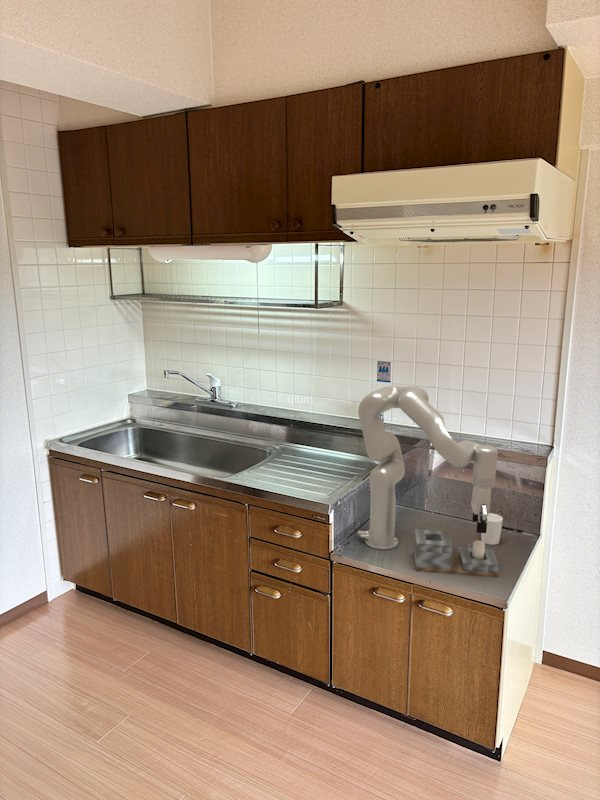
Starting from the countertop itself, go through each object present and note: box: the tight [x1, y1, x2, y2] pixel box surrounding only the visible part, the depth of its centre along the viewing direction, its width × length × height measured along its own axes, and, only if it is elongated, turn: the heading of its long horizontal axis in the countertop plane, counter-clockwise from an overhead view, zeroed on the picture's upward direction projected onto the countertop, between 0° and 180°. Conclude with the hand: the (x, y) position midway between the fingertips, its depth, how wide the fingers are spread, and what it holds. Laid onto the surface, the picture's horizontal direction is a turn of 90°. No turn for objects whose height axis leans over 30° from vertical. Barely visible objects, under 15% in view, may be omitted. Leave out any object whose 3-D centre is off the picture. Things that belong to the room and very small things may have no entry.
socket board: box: [413, 528, 499, 578], centre depth 218 cm, size 28×14×10 cm, turn 82°
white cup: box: [480, 512, 504, 546], centre depth 237 cm, size 8×8×10 cm
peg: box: [472, 540, 486, 560], centre depth 217 cm, size 4×4×8 cm
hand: (479, 526), depth 215 cm, fingers open, 9 cm apart
